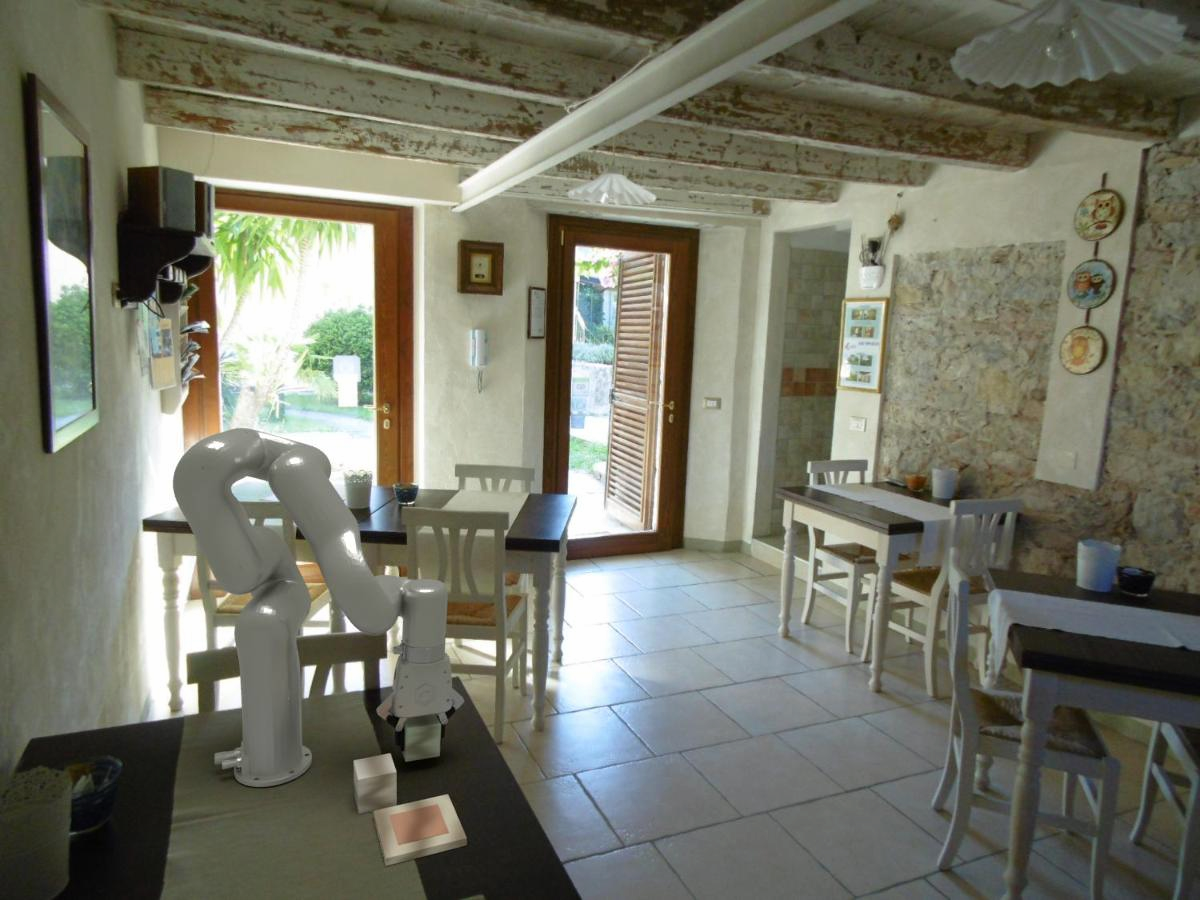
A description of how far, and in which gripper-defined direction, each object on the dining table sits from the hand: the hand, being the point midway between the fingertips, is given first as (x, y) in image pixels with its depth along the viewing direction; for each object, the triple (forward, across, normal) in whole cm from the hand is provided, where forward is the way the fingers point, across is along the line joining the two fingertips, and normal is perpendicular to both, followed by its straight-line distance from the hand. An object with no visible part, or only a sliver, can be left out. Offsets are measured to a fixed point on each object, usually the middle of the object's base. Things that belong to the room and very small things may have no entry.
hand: (419, 743), depth 135 cm
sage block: (+1, 0, 0) cm, 1 cm away
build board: (+3, -4, -19) cm, 20 cm away
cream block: (+4, -9, -8) cm, 13 cm away
